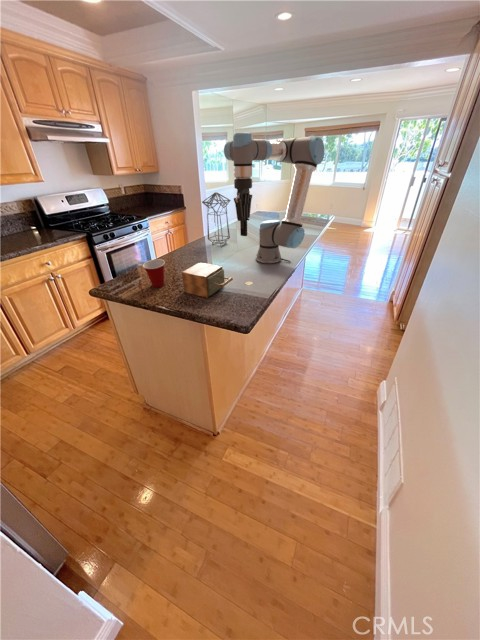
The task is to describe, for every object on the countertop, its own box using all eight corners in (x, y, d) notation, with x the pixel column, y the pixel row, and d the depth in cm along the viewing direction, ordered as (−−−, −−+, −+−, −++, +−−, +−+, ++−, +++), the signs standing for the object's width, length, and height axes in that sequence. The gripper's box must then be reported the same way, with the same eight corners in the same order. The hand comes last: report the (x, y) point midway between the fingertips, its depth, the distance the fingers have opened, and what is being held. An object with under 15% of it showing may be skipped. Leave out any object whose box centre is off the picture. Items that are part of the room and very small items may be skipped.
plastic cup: (142, 288, 135) (137, 265, 128) (155, 279, 143) (151, 258, 137) (160, 291, 131) (156, 267, 125) (173, 282, 140) (169, 260, 134)
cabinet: (223, 286, 135) (222, 266, 129) (207, 297, 124) (205, 276, 119) (201, 281, 140) (199, 262, 135) (184, 292, 130) (181, 272, 124)
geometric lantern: (222, 248, 188) (219, 194, 170) (204, 246, 195) (199, 193, 176) (233, 243, 200) (232, 191, 181) (216, 240, 206) (212, 190, 188)
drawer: (235, 287, 131) (234, 270, 126) (221, 298, 121) (220, 281, 116) (204, 281, 138) (202, 265, 134) (188, 291, 129) (186, 274, 124)
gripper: (242, 176, 117) (243, 231, 130) (227, 179, 108) (229, 238, 120) (258, 176, 114) (257, 233, 127) (243, 179, 105) (244, 239, 117)
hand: (243, 235), depth 123 cm, fingers closed
